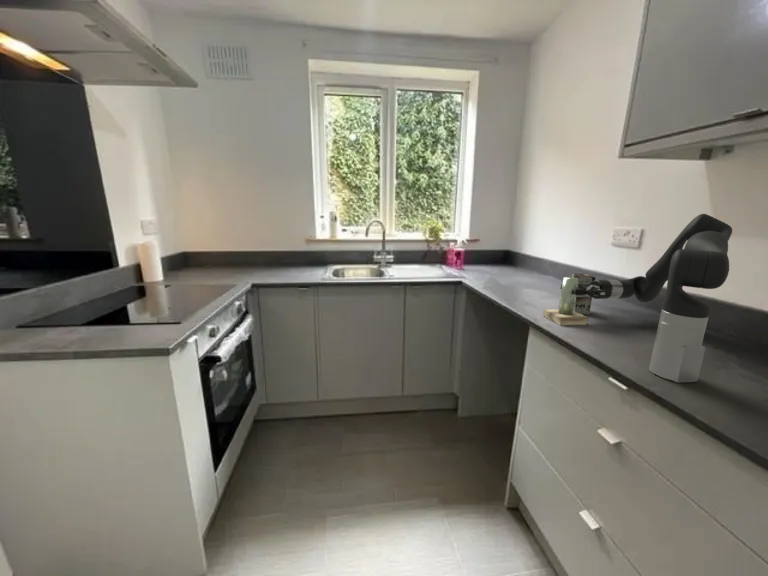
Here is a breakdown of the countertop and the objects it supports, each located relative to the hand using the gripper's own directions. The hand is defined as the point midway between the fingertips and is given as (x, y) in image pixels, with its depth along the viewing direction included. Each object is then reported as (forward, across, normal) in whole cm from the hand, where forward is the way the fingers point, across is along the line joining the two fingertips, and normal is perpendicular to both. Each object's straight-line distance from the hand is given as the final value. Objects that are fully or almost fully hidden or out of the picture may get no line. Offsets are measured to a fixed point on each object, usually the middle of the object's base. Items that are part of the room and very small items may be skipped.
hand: (568, 289), depth 135 cm
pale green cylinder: (0, 0, +10) cm, 10 cm away
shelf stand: (0, 0, +12) cm, 13 cm away
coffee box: (-15, -12, +13) cm, 23 cm away
